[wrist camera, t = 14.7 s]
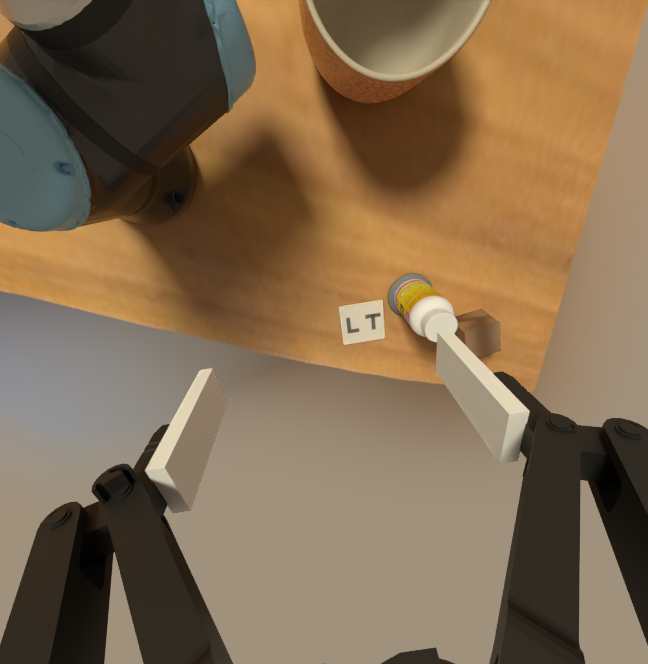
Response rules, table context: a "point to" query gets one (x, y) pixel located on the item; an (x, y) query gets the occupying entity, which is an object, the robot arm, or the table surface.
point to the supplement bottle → (424, 309)
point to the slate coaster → (398, 283)
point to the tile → (362, 322)
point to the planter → (385, 41)
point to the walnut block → (479, 332)
